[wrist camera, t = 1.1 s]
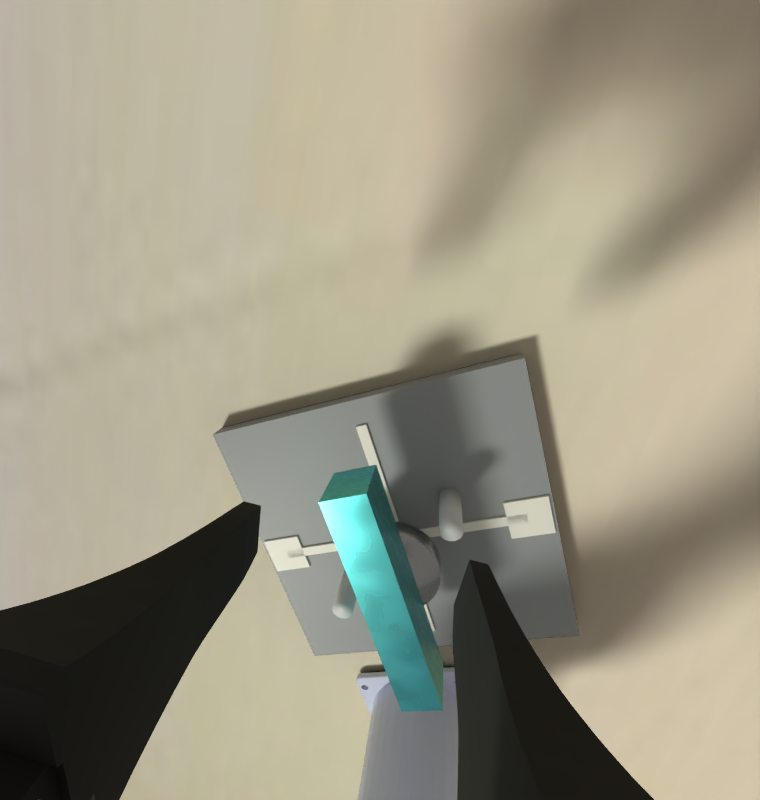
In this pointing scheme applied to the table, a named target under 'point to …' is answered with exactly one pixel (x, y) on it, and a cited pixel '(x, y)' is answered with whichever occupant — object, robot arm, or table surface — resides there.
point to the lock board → (412, 496)
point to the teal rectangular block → (389, 583)
